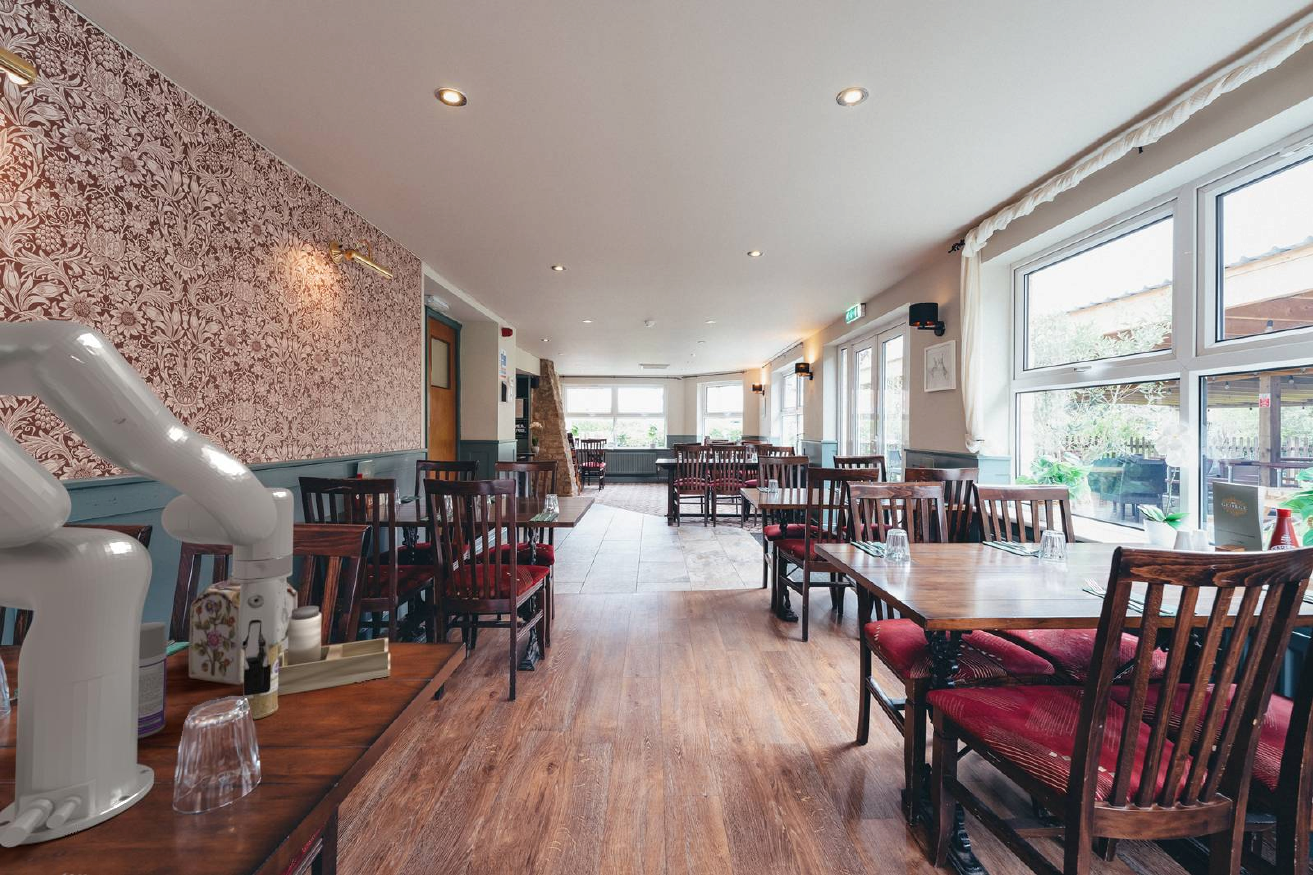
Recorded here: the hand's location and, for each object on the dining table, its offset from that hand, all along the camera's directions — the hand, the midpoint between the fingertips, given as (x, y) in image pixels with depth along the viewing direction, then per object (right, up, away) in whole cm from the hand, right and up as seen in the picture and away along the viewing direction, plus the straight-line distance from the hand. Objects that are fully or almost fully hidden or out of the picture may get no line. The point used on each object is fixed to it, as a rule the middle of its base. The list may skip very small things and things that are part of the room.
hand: (260, 685), depth 83 cm
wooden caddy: (+4, -5, +13) cm, 14 cm away
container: (-13, -4, -5) cm, 15 cm away
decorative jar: (-15, -5, +16) cm, 22 cm away
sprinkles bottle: (0, -5, 0) cm, 5 cm away
